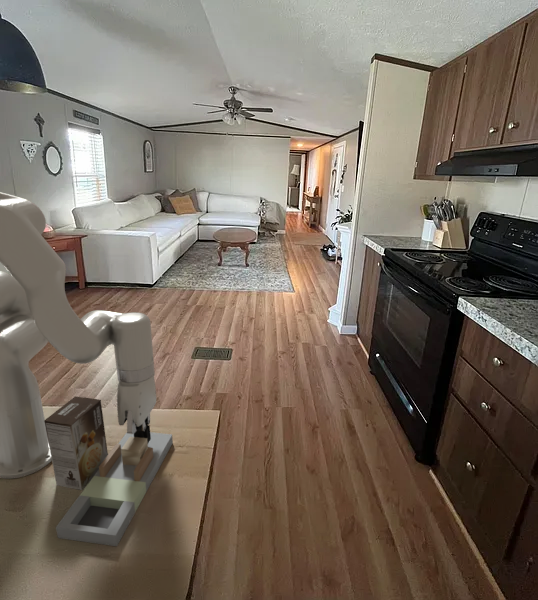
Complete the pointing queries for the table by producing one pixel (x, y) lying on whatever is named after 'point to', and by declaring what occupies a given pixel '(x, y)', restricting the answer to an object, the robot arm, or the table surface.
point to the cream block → (134, 450)
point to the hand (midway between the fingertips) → (142, 441)
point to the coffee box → (77, 441)
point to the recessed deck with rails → (113, 494)
